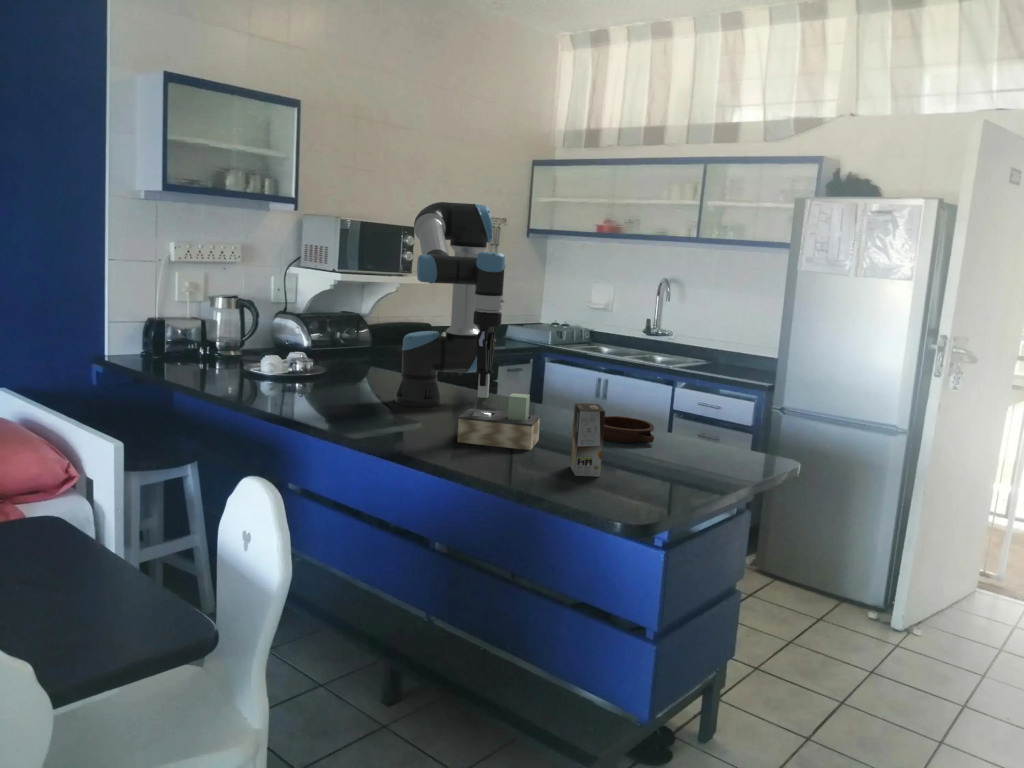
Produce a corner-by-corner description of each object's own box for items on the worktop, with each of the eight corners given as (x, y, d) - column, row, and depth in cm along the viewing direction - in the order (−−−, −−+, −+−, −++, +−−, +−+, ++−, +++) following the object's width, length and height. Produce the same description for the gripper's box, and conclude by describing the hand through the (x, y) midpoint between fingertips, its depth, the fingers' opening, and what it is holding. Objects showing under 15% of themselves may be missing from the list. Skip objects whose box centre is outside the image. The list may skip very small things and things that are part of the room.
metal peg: (469, 438, 225) (471, 413, 224) (474, 434, 230) (475, 409, 229) (487, 440, 224) (489, 415, 223) (492, 436, 229) (493, 411, 228)
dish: (631, 451, 225) (633, 433, 224) (572, 434, 240) (573, 417, 240) (670, 443, 236) (672, 426, 235) (611, 427, 252) (613, 411, 251)
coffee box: (601, 477, 197) (606, 411, 194) (574, 476, 197) (579, 410, 194) (594, 466, 206) (599, 403, 203) (568, 465, 206) (573, 402, 203)
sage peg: (507, 421, 222) (508, 396, 221) (511, 418, 227) (512, 393, 226) (524, 423, 221) (526, 397, 220) (528, 419, 226) (529, 394, 225)
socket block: (457, 442, 222) (458, 416, 221) (469, 432, 234) (470, 408, 233) (530, 450, 218) (532, 424, 217) (538, 440, 230) (540, 415, 229)
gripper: (496, 314, 214) (490, 403, 219) (506, 309, 227) (501, 393, 231) (468, 311, 216) (463, 400, 220) (480, 307, 228) (475, 391, 233)
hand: (483, 396), depth 226 cm, fingers closed
